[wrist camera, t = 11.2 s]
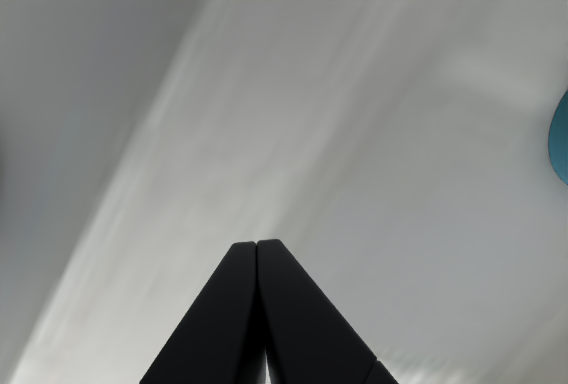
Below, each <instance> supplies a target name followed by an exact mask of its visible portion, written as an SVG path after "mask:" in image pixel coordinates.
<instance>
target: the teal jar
mask: <svg viewBox="0 0 568 384" xmlns="http://www.w3.org/2000/svg"><path fill="white" fill-rule="evenodd" d="M549 155H550V159H551V163H552V166H553V168H554V170H555V172H556V173H557V175H558V176H559V177H560V179H561V180H562V181H564V182H565V183H566V184H567V185H568V91H567V92H566V94H565V95H564V97H563V99H562V100H561V102H560V104H559V106H558V108H557V111H556V113H555V116H554V118H553V121H552V124H551V129H550V134H549Z"/></svg>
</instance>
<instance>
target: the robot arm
mask: <svg viewBox="0 0 568 384" xmlns="http://www.w3.org/2000/svg"><path fill="white" fill-rule="evenodd" d="M266 356H267V364H268V370H269V376H270V381H271V384H399V383H398V382H397V381H396V380H395V379H394V378H393V376H392V375H391V374H390V373H389V371H388V370H387V369H386V368H385V367H384V365H383V364H382V363H381V362H380V361H377V357H376V356H375V355H374V354H373V352H372V351H371V350H370V349H369V347H368V346H367V345H366V344H365V343H364V341H363V340H362V339H361V338H360V337H359V335H358V334H357V333H356V332H355V331H354V329H353V328H352V327H351V326H350V324H349V323H348V322H347V321H346V320H345V318H344V317H343V316H342V315H341V314H340V312H339V311H338V310H337V309H336V307H335V306H334V305H333V304H332V303H331V301H330V300H329V299H328V298H327V297H326V295H325V294H324V293H323V292H322V290H321V289H320V288H319V287H318V286H317V284H316V283H315V282H314V281H313V280H312V278H311V277H310V276H309V275H308V273H307V272H306V271H305V270H304V269H303V267H302V266H301V265H300V264H299V263H298V261H297V260H296V259H295V258H294V256H293V255H292V254H291V253H290V252H289V250H288V249H287V248H286V247H285V246H284V244H283V243H282V242H281V241H280V240H279V239H270V240H260V241H258V242H257V246H256V243H255V242H253V241H250V242H239V243H234V244H233V245H232V246H231V247H230V249H229V250H228V252H227V253H226V255H225V256H224V258H223V259H222V261H221V262H220V264H219V265H218V267H217V268H216V270H215V271H214V273H213V274H212V276H211V277H210V278H209V280H208V281H207V283H206V284H205V286H204V287H203V289H202V290H201V292H200V293H199V295H198V296H197V298H196V299H195V301H194V302H193V304H192V305H191V307H190V308H189V310H188V311H187V313H186V314H185V316H184V317H183V319H182V320H181V321H180V323H179V324H178V326H177V327H176V329H175V330H174V332H173V333H172V335H171V336H170V338H169V339H168V341H167V342H166V344H165V345H164V347H163V348H162V350H161V351H160V353H159V354H158V356H157V357H156V359H155V360H154V362H153V363H152V365H151V366H150V367H149V369H148V370H147V372H146V373H145V375H144V376H143V378H142V379H141V381H140V382H139V384H265V381H266Z"/></svg>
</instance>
